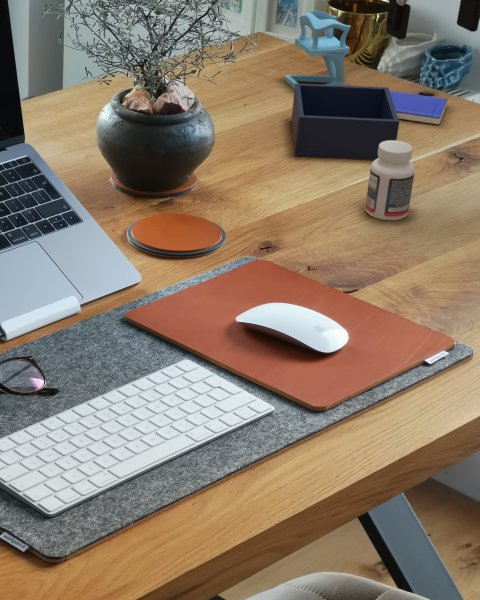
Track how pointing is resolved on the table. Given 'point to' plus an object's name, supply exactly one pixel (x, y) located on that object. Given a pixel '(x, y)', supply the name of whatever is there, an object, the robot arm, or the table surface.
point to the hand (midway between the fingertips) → (431, 32)
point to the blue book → (418, 107)
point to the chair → (322, 48)
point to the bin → (342, 121)
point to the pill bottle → (390, 181)
